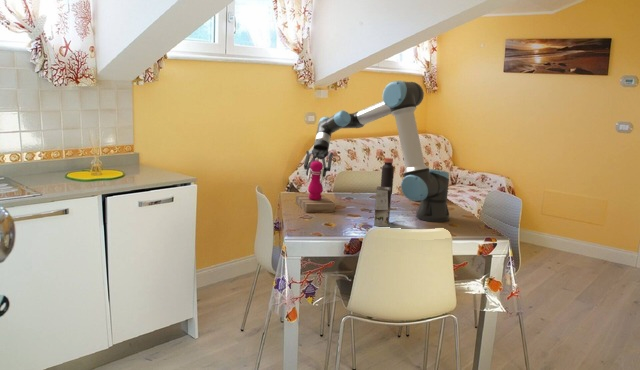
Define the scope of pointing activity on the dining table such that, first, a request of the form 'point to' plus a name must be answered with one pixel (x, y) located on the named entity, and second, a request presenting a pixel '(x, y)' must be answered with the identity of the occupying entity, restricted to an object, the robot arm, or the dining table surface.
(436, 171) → the robot arm
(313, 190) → the pepper mill
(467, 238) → the dining table surface
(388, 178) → the bottle
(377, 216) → the coffee box
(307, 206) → the wooden slatted trivet
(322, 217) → the dining table surface
